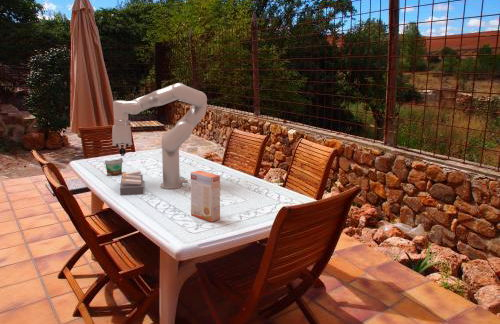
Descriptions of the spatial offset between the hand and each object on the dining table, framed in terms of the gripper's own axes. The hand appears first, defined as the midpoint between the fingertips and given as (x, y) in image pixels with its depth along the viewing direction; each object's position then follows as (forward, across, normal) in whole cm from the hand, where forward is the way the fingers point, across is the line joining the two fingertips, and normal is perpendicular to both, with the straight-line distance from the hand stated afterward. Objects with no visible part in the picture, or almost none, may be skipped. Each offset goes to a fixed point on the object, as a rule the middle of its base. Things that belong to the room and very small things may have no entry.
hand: (122, 155), depth 223 cm
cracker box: (+19, -37, +57) cm, 71 cm away
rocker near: (+13, -4, +9) cm, 16 cm away
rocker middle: (+13, -4, 0) cm, 14 cm away
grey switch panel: (+19, -4, -2) cm, 20 cm away
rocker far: (+13, -4, -9) cm, 16 cm away
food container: (+19, +6, -32) cm, 38 cm away
